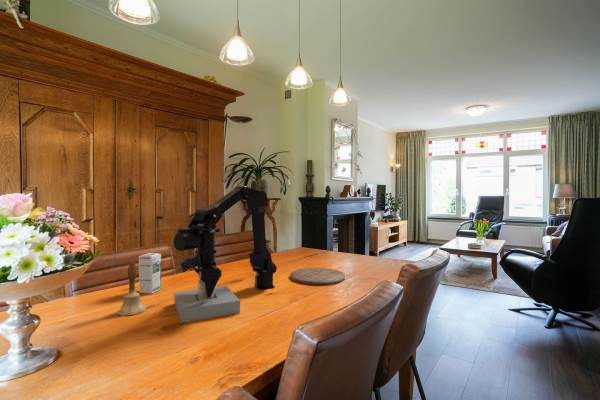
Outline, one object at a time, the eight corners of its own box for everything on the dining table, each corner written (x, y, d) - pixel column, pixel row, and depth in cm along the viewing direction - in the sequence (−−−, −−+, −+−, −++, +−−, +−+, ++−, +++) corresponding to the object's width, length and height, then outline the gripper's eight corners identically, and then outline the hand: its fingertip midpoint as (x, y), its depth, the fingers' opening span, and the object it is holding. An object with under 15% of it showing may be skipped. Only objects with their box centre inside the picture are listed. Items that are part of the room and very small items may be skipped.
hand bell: (126, 306, 106) (126, 259, 106) (150, 306, 106) (150, 259, 106) (111, 315, 98) (110, 264, 98) (137, 316, 98) (137, 265, 97)
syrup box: (152, 293, 119) (152, 255, 119) (138, 292, 120) (138, 255, 120) (161, 289, 125) (161, 253, 124) (148, 288, 126) (148, 252, 125)
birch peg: (211, 305, 108) (211, 279, 108) (214, 309, 104) (214, 282, 104) (198, 307, 106) (198, 280, 106) (200, 311, 102) (200, 284, 102)
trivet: (353, 276, 148) (353, 272, 148) (329, 289, 127) (329, 285, 127) (308, 269, 161) (308, 265, 161) (279, 280, 140) (279, 276, 140)
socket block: (226, 296, 117) (226, 285, 117) (240, 312, 101) (240, 300, 101) (174, 303, 109) (174, 292, 109) (180, 323, 93) (180, 309, 93)
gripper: (177, 244, 109) (177, 288, 109) (183, 253, 92) (184, 306, 93) (209, 242, 114) (209, 284, 114) (221, 250, 97) (221, 300, 98)
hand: (206, 293), depth 105 cm, fingers open, 9 cm apart
